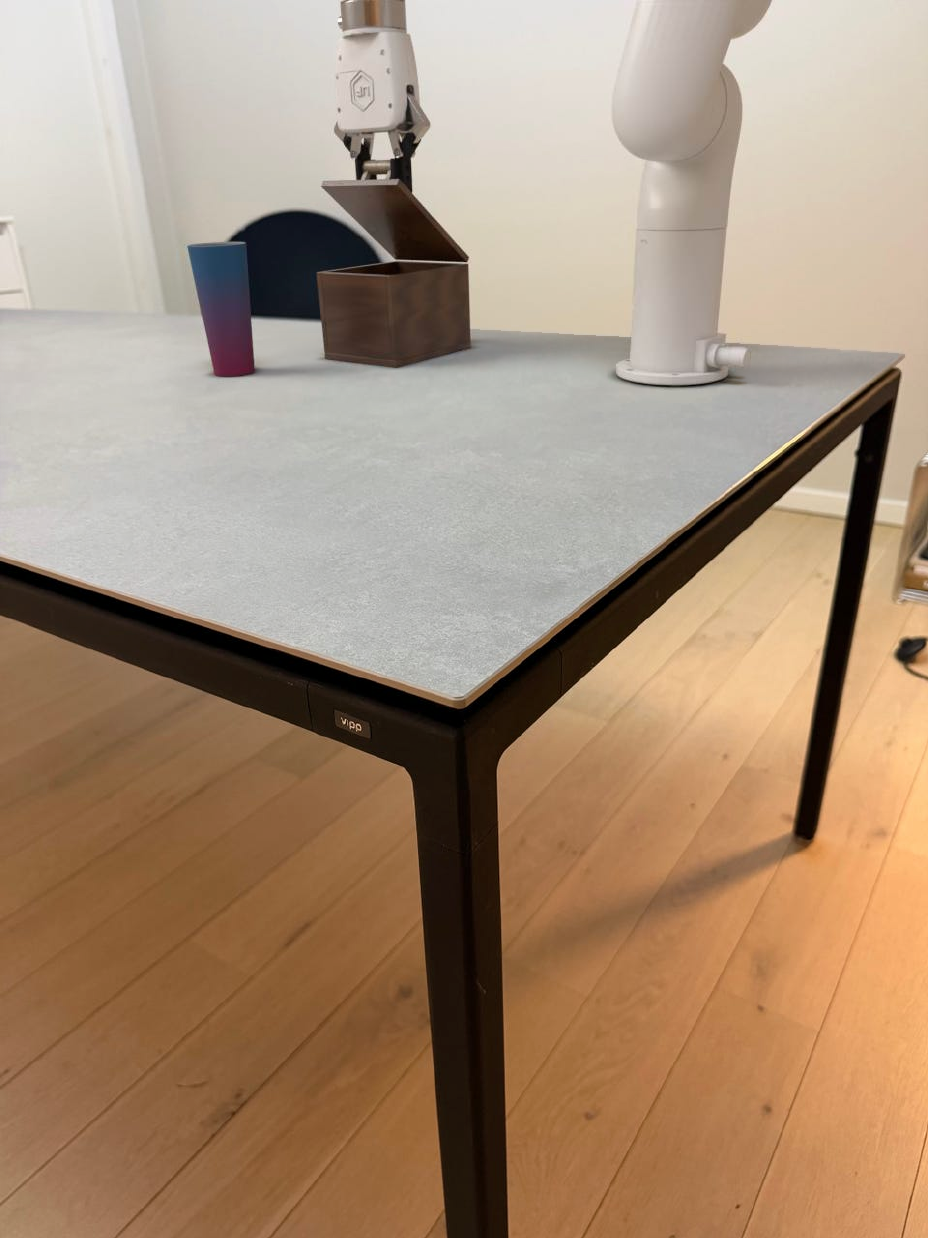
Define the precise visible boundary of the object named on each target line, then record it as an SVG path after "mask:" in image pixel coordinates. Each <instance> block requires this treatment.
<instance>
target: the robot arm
mask: <svg viewBox="0 0 928 1238" xmlns="http://www.w3.org/2000/svg"><path fill="white" fill-rule="evenodd" d="M772 1H773V0H637V1H636V5H635V9H634V10H633V11H634V12H633V15H632V18H631V22H630V26H629V30H628V34H627V37H626V41H625V43H624V48H623V52H622V54H621V55H622V56H621V59H620V62H619V66H618V69H617V73H616V77H615V81H614V86H613V91H612V98H611V120H612V126H613V130H614V132H615V135H616V137H617V139H618V140H619V142H620V144H621V145H622V146H623V147H624V149H626V151H627V152H629V153H630V154H631V155H633V156H635V157H637V158H639V159H641V160H644V164H643V169H642V173H641V180H640V185H639V191H638V201H637V212H636V213H637V215H636V230H635V247H634V248H635V249H634V250H635V251H634V266H633V267H634V269H633V270H634V271H633V291H632V309H631V311H632V313H631V314H632V315H631V331H630V333H631V334H630V336H631V337H630V351H629V352H630V353H629V355H630V356H629V357H628V358H625V359H623V360H620V361H619V362H617V363H616V366H615V375H617V376H618V378H620V379H623V380H626V381H629V382H633V383H639V384H647V385H658V386H690V385H701V384H703V385H704V384H709V383H713V382H717V381H721V380H723V379H725V378H727V376H728V375H729V368H730V367H735V368H736V367H737V368H747V367H748V366H749V364H750V361H751V349H749V348H748V347H747V346H729V344H728V343H726V339H727V338H726V337H727V333H723V332H719V331H718V329H719V320H720V319H719V318H720V309H721V297H722V285H723V284H722V283H723V275H724V274H723V273H724V263H725V253H726V252H725V251H726V239H727V230H728V229H727V228H728V224H729V223H728V222H729V210H730V201H731V191H732V184H733V183H732V181H733V176H734V169H735V162H736V158H737V153H738V147H739V141H740V136H741V130H742V124H743V123H742V122H743V98H742V93H741V88H740V86H739V83H738V81H737V78H736V77H735V75H734V74H733V72H732V71H731V69H729V67H728V66H727V65H726V64H724V62H725V58H726V54H727V52H728V49H729V47H730V44H731V41H732V40H736V39H739V38H741V37H743V36H745V35H747V34H748V33H750V32H751V31H752V30H754V29H755V28H756V27H757V26H758V25H759V23H760V22H761V21H762V20H763V19H764V17H765V15H766V14H767V12H768V10H769V8H770V6H771V4H772ZM339 3H340V5H339V6H340V16H339V17H338V19H337V24H338V27H339V29H341V30H342V37H341V38H338V39H337V45H336V56H335V81H334V82H335V83H334V84H335V107H336V108H335V109H336V110H335V111H336V112H335V113H336V123H335V125H334V127H333V133H334V134H335V136H337V137H338V139H339V140H340V141H341V142H343V143H342V144H343V145H344V147H345V148H346V150H347V151H348V152H349V157H350V159H351V161H354V167H355V180H361V178H362V175H363V173H364V172H363V169H362V165H363V163H364V162H365V161H371V160H372V157H373V151H374V150H373V149H374V141H375V135H376V134H381V133H387V136H388V139H389V143H390V146H391V151H392V154H393V157H394V158H390V159H389V160H390V170H391V179H400V180H401V181H402V183H403V184H404V185H405V186H406V187H407V188H408V189H409V190H410V191H411V193H412V194H413V173H412V169H413V168H412V159H414V158H415V156H416V150H417V148H418V147H419V145H420V144H421V142H422V138H424V136H425V135H426V134H427V132H428V131H429V130H430V129H431V122H430V120H429V118H428V116H427V115H426V113H425V112H424V110H423V109H422V107H421V98H420V87H419V78H418V70H417V62H416V56H415V51H414V46H413V42H412V37H411V34H410V33H408V31H407V30H408V28H407V26H408V25H407V9H406V0H339ZM362 140H363V142H362ZM377 179H378V175H371V176H370V179H369V180H377Z"/></svg>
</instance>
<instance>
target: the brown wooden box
mask: <svg viewBox="0 0 928 1238" xmlns="http://www.w3.org/2000/svg"><path fill="white" fill-rule="evenodd" d="M469 277H470V273H469V263H466V262H439V261H413V260H393V261H386V262H379V263H372V264H365V265H359V266H358V265H357V266H351V267H345V268H344V267H343V268H337V269H330V270H323V271H317V272H316V280H317V289H318V290H317V292H318V303H319V311H320V313H319V314H320V321H321V333H322V342H323V353H324V359H326V360H333V361H339V362H340V361H341V362H342V361H343V362H350V363H355V364H365V365H373V366H380V367H389V368H399V367H403V366H406V365H407V366H408V365H410V364H414V363H418V362H422V361H426V360H430V359H433V358H437V357H440V356H445V355H448V354H452V353H455V352H459V351H463V350H467V349H471V347H472V343H471V312H470V311H471V309H470V306H471V305H470V278H469Z"/></svg>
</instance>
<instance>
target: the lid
mask: <svg viewBox="0 0 928 1238" xmlns="http://www.w3.org/2000/svg"><path fill="white" fill-rule="evenodd" d="M362 169H363V172H364V173H363V175H362V178H361V180H356V179H345V180H344V179H343V180H322V182H321V185H320V187H321V188H322V189H323V190H324V191H325V192H326V193H327V194H328V195H329V196H330V197H331V198H332V199H333V200H334V201H335V202H336V203H337V205H339V206H340V207H341V208H342V209H343V210H344V211H345V212H346V213H347V214H348V215H349V216H350V217H351V218H352V219H353V220H354V221H355V222H356V223H357V224H358V225H359V226H361V228H362V229H364V231H366V233H368V235H369V236H371V237H372V238H373V240H375V241H376V242H377V243H378V245H380V246H381V247H382V248H383V249H384V250H385V251H386V252H387V253H388V254H389V255H390V256H391V257H392V258H393V259H394V261H414V262H440V263H468V262H469V259H470V256H469V255H468V254H467V253H466V252H465V251H464V250H463V249H462V247H461V246H460V245H459V244H458V243H457V241H456V240H455V239H454V238H453V237H452V236H451V235H450V234H449V233H448V232H447V230H445V228H444V227H443V226H442V225H441V224H440V222H439V221H438V220H436V218H435V217H434V216H433V215H432V213H431V212H430V211H428V209H427V208H426V207H425V206H424V205H423V203H421V201H420V200H419V199H418V198H417V196H415V195H414V194H413V192H412V193H411V191H410V190H409V189H408V188H407V187H406V186H405V185H404V184H403V183H402V181H401V180H400V179H391V170H390V159H371V161H365V162H364V163H363V165H362ZM371 175H377V176H379V175H385V178H384V179H383V178H382V179H381V178H380V179H379V178H377V180H369V179H370V176H371Z"/></svg>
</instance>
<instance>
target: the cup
mask: <svg viewBox="0 0 928 1238" xmlns="http://www.w3.org/2000/svg"><path fill="white" fill-rule="evenodd" d="M186 246H187V251H188V256H189V261H190V267H191V270H192V276H193V281H194V285H195V289H196V294H197V299H198V303H199V308H200V313H201V318H202V323H203V327H204V332H205V336H206V341H207V347H208V350H209V356H210V359H211V360H210V361H211V365H212V370H213V374H214V375H215V376H218V377H239V376H240V377H241V376H246V375H251V374H253V373H255V371H256V366H255V356H254V355H255V352H254V351H255V350H254V339H253V323H252V310H251V309H252V308H251V295H250V282H249V281H250V280H249V266H248V254H247V251H248V250H247V242H245V241H215V242H214V241H212V242H201V243H192V244H191V243H190V244H188V245H186Z"/></svg>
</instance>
